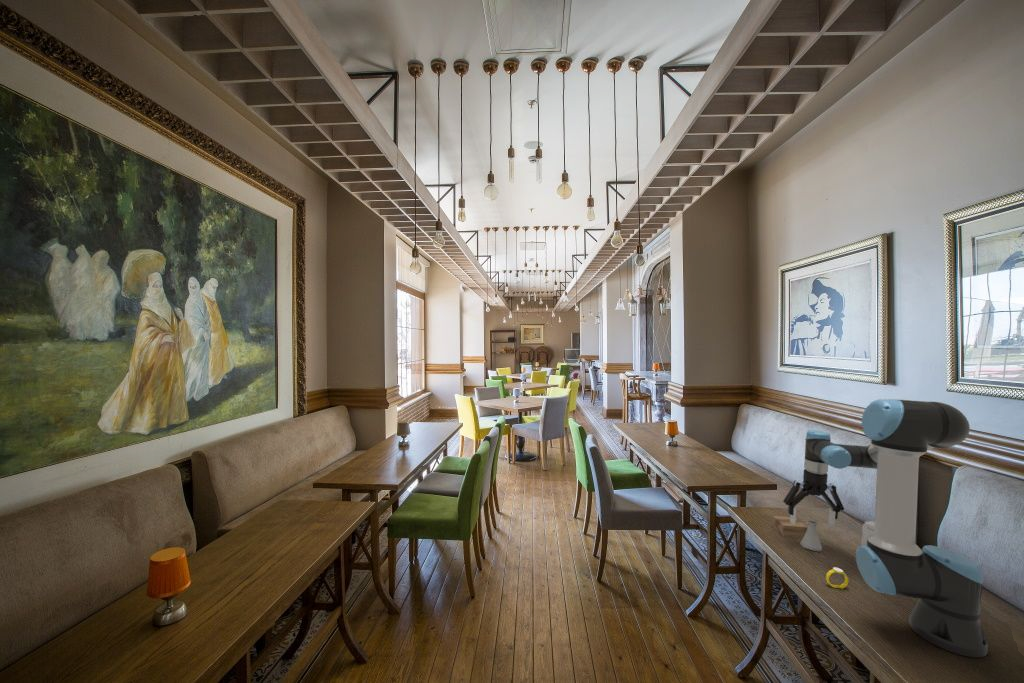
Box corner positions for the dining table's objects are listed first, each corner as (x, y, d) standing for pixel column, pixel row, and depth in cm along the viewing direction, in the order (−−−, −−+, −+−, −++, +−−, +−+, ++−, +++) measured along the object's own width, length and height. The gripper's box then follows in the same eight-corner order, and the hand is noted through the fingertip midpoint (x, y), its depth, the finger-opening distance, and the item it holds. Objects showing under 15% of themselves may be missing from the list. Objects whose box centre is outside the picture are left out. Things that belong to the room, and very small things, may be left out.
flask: (801, 548, 163) (802, 523, 163) (798, 540, 170) (800, 516, 169) (824, 554, 160) (825, 528, 159) (820, 545, 166) (822, 520, 166)
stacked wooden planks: (806, 539, 171) (807, 527, 171) (782, 537, 172) (783, 525, 172) (794, 529, 180) (795, 517, 180) (772, 527, 181) (772, 515, 181)
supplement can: (892, 576, 147) (895, 533, 146) (862, 568, 151) (864, 526, 150) (887, 565, 154) (890, 524, 153) (858, 557, 158) (860, 518, 157)
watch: (843, 586, 140) (846, 569, 140) (848, 591, 137) (851, 573, 137) (823, 582, 141) (826, 565, 141) (828, 587, 138) (830, 570, 138)
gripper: (845, 470, 165) (841, 523, 166) (776, 464, 169) (772, 516, 171) (858, 477, 158) (853, 533, 159) (784, 471, 162) (781, 525, 163)
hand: (811, 524), depth 165 cm, fingers open, 13 cm apart
